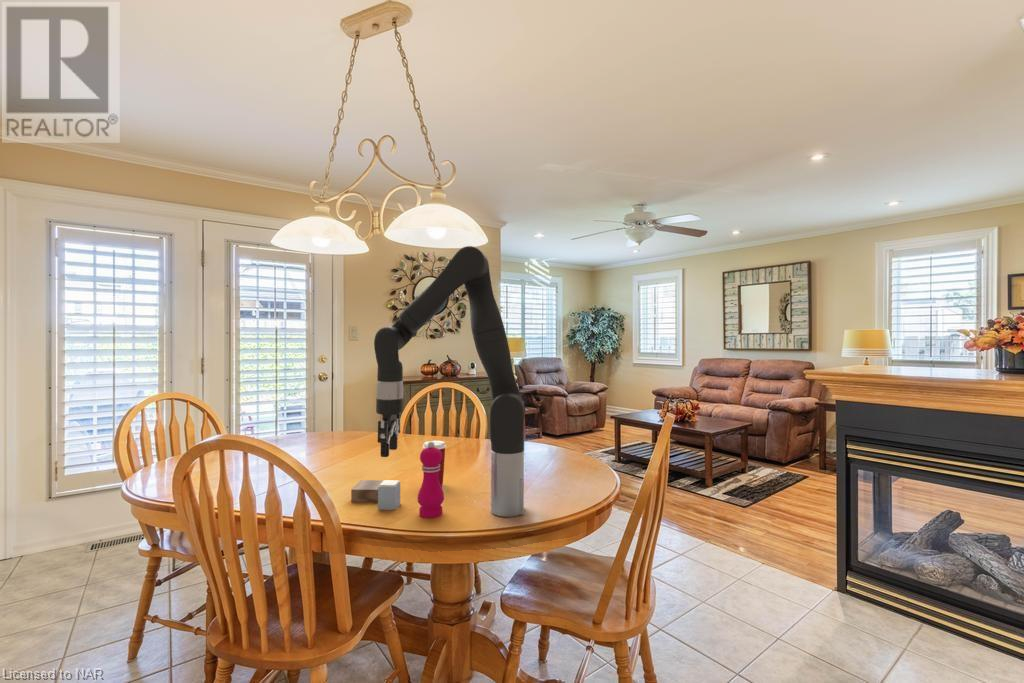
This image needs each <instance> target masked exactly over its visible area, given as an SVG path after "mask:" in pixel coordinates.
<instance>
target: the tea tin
mask: <svg viewBox="0 0 1024 683" xmlns="http://www.w3.org/2000/svg"><path fill="white" fill-rule="evenodd" d="M377 504H378V505H377V510H378V511H396V510H398V508H399V506H400V505H401V481H400V480H398V479H397V480H396V479H395V480H394V479H391V480H389V479H386V480H385V479H384V481H383V482H382V483H381V484H380V486H379V487H378V502H377Z"/></svg>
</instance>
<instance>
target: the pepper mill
mask: <svg viewBox="0 0 1024 683" xmlns="http://www.w3.org/2000/svg"><path fill="white" fill-rule="evenodd" d="M419 459H420V462H421V464H422V465H421V468H422V469H421V471H422V472H423V478H422V482H421V487H420V488H419V491H418V493H417V503H418V504H419V505H420V507H419V514H418V515H419V516H420V517H422V518H426V519H431V518H432V519H433V518H434V519H435V518H438V517H440V516H441V515H442V514H443V506H442V504H443V502H444V501H445V494H444V490H443V488H442V487H443V486H441V485H440V482H439V476H438V474H439V470H440V464H439V463H440V462H441V460H442V453H441V451H440V450H439V449H438V448H435V447H434V443H433V442H429V443H428V448H425V449H422V450H421V452H420V454H419Z"/></svg>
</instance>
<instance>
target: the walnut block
mask: <svg viewBox="0 0 1024 683" xmlns="http://www.w3.org/2000/svg"><path fill="white" fill-rule="evenodd" d="M384 480H385V479H384ZM384 480H382V479H381V480H379V479H378V480H375V479H370V480H369V479H361V480H359V481H358V482H357V483H356V485H354V486H353V487H352V489H351V490H350V491H351V492H350V493H351V496H350V500H351V503H378V487H379V486H380V484H381V483H382V482H383V481H384Z"/></svg>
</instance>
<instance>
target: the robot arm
mask: <svg viewBox="0 0 1024 683" xmlns="http://www.w3.org/2000/svg"><path fill="white" fill-rule="evenodd" d="M462 286H464V289H465V291H466V295H467V298H468V302H469V317H470V318H469V319H470V329H471V335H472V338H473V342H474V346H475V349H476V352H477V355H478V357H479V360H480V362H481V364H482V366H483V369H484V371H485V373H486V375H487V377H488V381H489V386H490V389H491V396H492V403H491V406H490V410H489V438H490V449H491V450H490V513H491V514H493V515H495V516H498V517H505V518H508V517H509V518H510V517H511V518H512V517H517V516H523V515H524V514H525V513H524V512H525V510H524V508H525V506H524V504H525V492H524V491H525V436H524V434H525V433H524V426H525V424H524V422H525V418H524V417H525V416H524V414H525V408H526V406H525V402H524V400H523V397H522V394H521V392H520V389H519V386H518V384H517V381H516V378H515V375H514V371H513V370H514V369H513V364H512V357H511V351H510V345H509V341H508V337H507V333H506V329H505V326H504V321H503V319H502V315H501V312H500V309H499V307H498V304H497V301H496V299H495V295H494V291H493V286H492V281H491V274H490V265H489V260H488V258H487V256H486V255H485V253H484V252H483V251H481V249H479V248H477V247H475V246H474V245H473V246H472V245H471V246H470V245H466V246H463V247H461V248H460V249H458V250H457V251H456V253H454V255H453V256H452V258H451V259H450V260H449V262H448V263H447V264H446V266H444V268H443V270H442V271H441V272H440V273H439V274H438V275H437V277H436V278H435V279H434V280H432V281H431V283H430V284H429V285H428V286H427V287H426V288H425V289H424V290H423V291H422V292H421V293H420V294H418V295H417V297H415V299H413V300H412V301H411V302H410V303H409V304H408V305H407V306H406V307H405V308H404V309H403V310H402V311H401V312H400V314H399V316H398V319H397V320H396V321H395V322H394V323H393V324H392V325H391V326H384V327H382V328H379V329H378V330H377V331H376V333H375V336H374V340H373V344H374V345H373V348H374V355H375V360H376V363H377V374H376V375H377V383H376V392H375V394H376V396H375V397H376V398H375V400H376V401H375V413H376V414H378V415H381V416H382V419H381V420H378V422H377V443H378V444H380V457H381V458H388V457H389V456H390V450H391V451H396V450H397V449H398V437H399V434H400V433H401V414H402V413H403V412H404V384H403V377H404V376H403V374H404V373H403V372H404V367H403V363H402V361H401V360H400V357H399V354H400V353H399V351H400V350H401V349H403V348H404V347H405V346H406V345H407V344H409V342H410V341H411V340H412V339H413V337H414V336H415V334H416V333H417V332H418V331H419V330H420V329H421V328H423V327H424V326H425V325H426V324H427V323H428V322H429V321H430V320H431V319H432V318H433V317H434V316H435V315H436V314H437V313H438V312H439V310H440V309H441V308H442V307H443V305H444V304H445V302H447V300H448V299H449V297H451V295H453V293H454V292H455V291H457V290H458V289H459V288H460V287H462Z"/></svg>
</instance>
